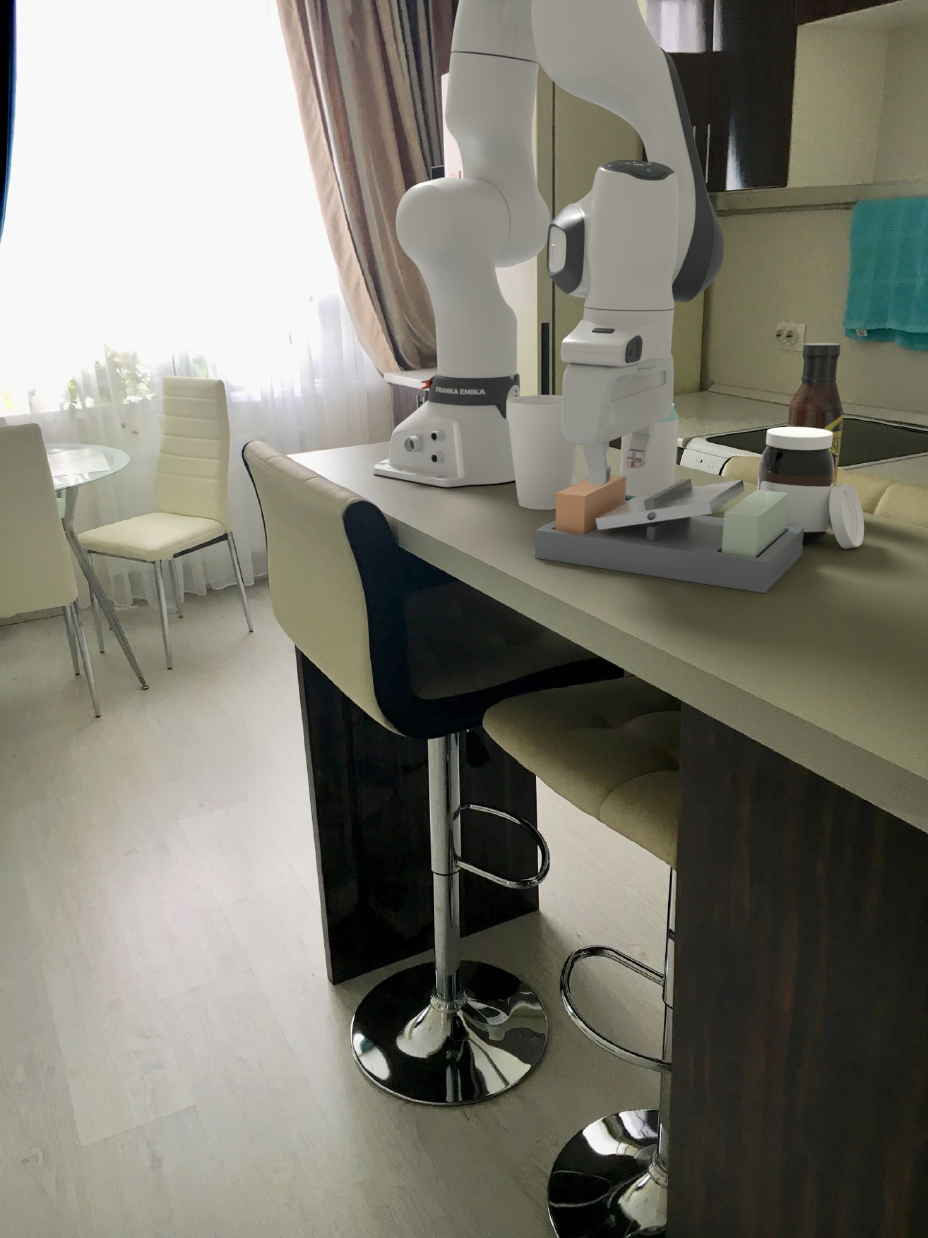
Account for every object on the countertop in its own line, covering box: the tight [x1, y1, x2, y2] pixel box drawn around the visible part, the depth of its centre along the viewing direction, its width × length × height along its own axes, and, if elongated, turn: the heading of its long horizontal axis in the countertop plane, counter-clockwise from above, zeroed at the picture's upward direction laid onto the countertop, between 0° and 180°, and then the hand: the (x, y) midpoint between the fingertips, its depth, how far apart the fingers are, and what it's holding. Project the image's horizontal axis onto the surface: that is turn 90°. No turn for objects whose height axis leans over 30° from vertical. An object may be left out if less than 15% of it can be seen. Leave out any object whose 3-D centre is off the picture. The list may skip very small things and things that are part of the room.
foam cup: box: [506, 394, 579, 511], centre depth 126 cm, size 10×9×13 cm
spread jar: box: [756, 426, 865, 549], centre depth 109 cm, size 12×11×12 cm
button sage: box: [721, 489, 788, 557], centre depth 99 cm, size 3×11×4 cm, turn 149°
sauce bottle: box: [786, 342, 845, 487], centre depth 119 cm, size 6×6×20 cm
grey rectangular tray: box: [534, 515, 804, 594], centre depth 105 cm, size 24×14×4 cm, turn 59°
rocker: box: [595, 478, 746, 530], centre depth 103 cm, size 12×12×2 cm
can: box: [619, 402, 680, 500], centre depth 129 cm, size 7×7×12 cm
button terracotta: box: [555, 473, 626, 534], centre depth 108 cm, size 3×11×4 cm, turn 149°
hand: (617, 474), depth 105 cm, fingers open, 8 cm apart
